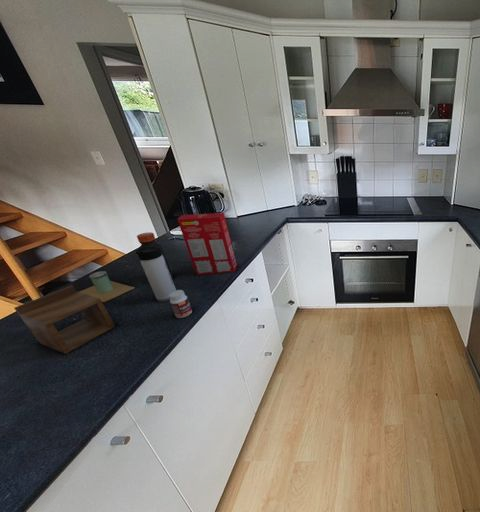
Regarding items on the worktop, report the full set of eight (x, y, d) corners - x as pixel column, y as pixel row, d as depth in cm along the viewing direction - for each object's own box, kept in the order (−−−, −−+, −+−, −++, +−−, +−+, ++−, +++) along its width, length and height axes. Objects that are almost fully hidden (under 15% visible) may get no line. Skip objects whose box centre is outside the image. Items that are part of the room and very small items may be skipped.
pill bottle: (184, 319, 90) (176, 298, 86) (172, 317, 90) (163, 296, 87) (195, 310, 94) (188, 289, 90) (183, 308, 95) (175, 288, 91)
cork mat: (76, 294, 101) (75, 293, 101) (107, 280, 110) (107, 280, 110) (104, 302, 97) (103, 301, 97) (135, 288, 105) (134, 287, 105)
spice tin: (94, 292, 102) (85, 276, 99) (109, 286, 106) (101, 270, 103) (102, 294, 101) (94, 278, 97) (117, 288, 104) (109, 272, 101)
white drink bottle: (154, 278, 112) (136, 233, 103) (174, 274, 115) (158, 230, 106) (151, 286, 107) (131, 239, 98) (172, 282, 110) (154, 236, 101)
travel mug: (151, 300, 98) (129, 251, 90) (168, 290, 104) (149, 243, 95) (165, 303, 97) (144, 253, 88) (181, 293, 103) (163, 245, 94)
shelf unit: (40, 343, 79) (13, 307, 73) (91, 318, 89) (71, 285, 83) (65, 354, 76) (40, 317, 70) (115, 326, 86) (97, 292, 80)
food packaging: (237, 266, 122) (223, 212, 111) (234, 272, 118) (220, 216, 107) (200, 269, 119) (182, 214, 108) (196, 275, 115) (177, 219, 103)
